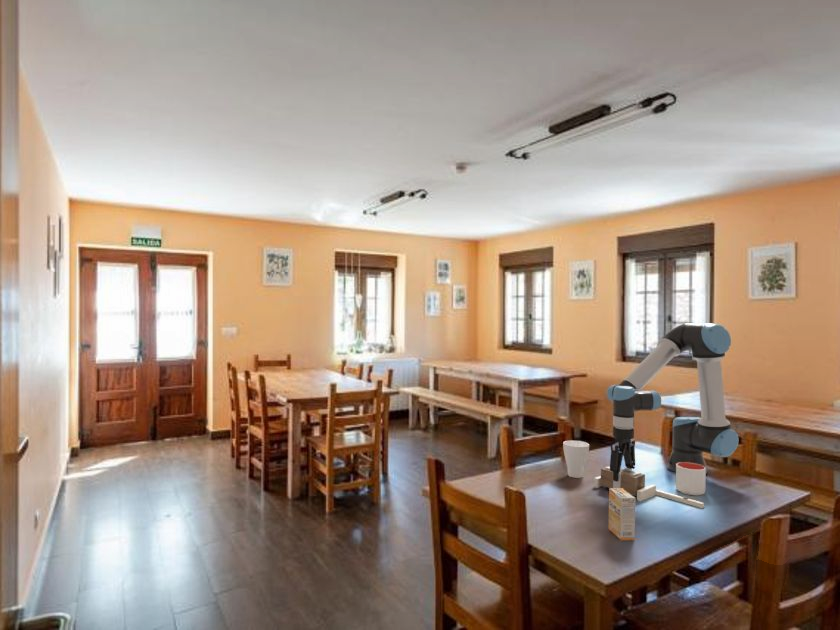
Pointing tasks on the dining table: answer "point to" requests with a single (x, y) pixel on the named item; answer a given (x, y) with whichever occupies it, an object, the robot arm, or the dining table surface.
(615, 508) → the supplement box
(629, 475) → the wooden block
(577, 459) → the cup
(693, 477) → the cup
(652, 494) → the notch rail
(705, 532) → the dining table surface
